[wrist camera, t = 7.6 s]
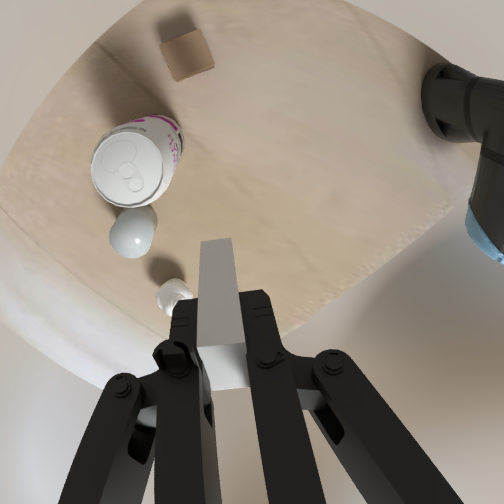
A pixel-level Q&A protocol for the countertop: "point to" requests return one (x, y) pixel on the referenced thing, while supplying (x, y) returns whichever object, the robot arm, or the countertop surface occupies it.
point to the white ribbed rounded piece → (172, 294)
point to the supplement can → (137, 160)
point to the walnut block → (187, 55)
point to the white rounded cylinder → (133, 231)
